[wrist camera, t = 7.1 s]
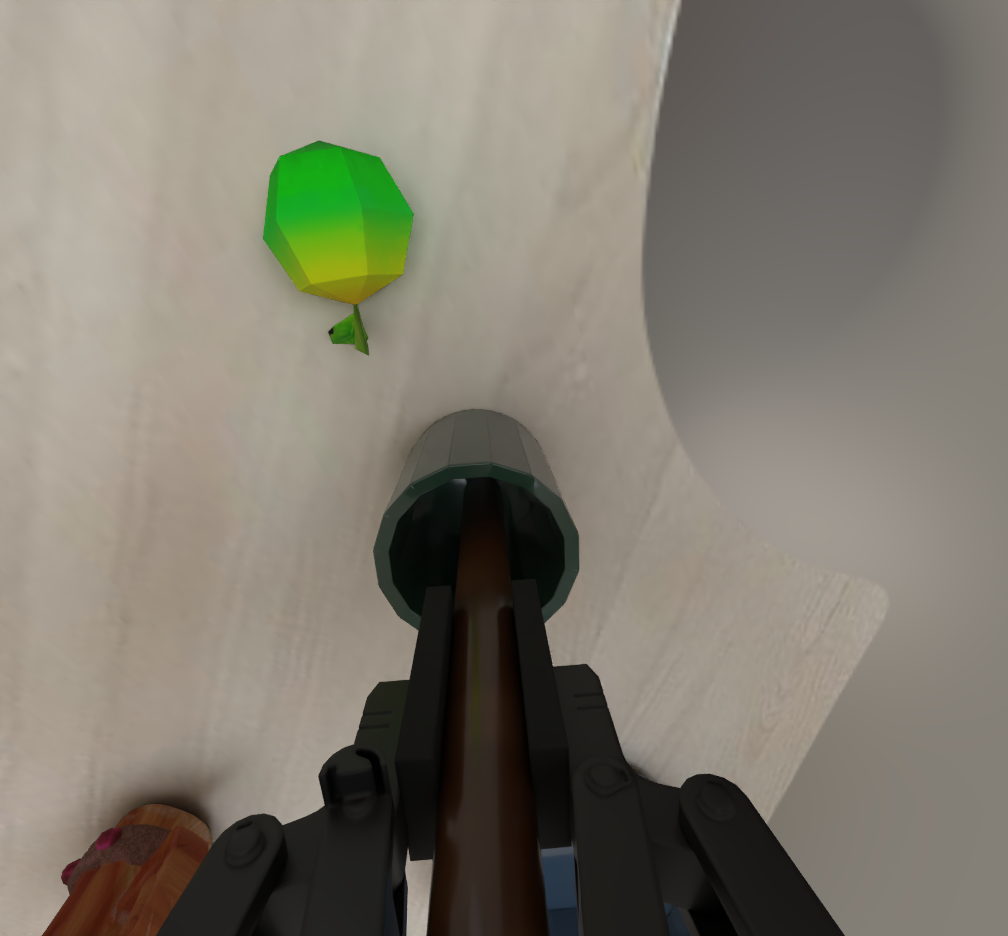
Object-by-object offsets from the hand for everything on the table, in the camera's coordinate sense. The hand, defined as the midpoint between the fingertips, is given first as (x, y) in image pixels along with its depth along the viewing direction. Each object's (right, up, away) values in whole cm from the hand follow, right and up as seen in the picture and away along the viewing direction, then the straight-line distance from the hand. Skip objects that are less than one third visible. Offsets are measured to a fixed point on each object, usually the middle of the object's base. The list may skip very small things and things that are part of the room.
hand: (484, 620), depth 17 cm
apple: (-7, +15, +9) cm, 19 cm away
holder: (-1, +4, +13) cm, 14 cm away
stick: (0, +4, +11) cm, 12 cm away
